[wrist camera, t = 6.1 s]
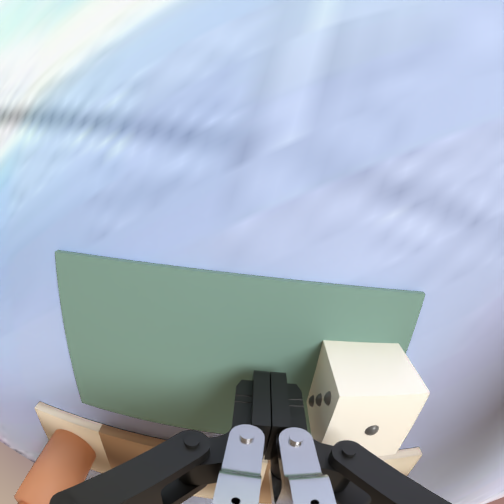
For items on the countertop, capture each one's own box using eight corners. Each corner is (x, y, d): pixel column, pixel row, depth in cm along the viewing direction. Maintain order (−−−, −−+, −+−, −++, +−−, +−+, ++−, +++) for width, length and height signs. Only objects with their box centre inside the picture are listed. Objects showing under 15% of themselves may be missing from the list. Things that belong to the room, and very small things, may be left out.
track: (39, 401, 17) (34, 407, 16) (418, 447, 17) (422, 454, 16) (60, 449, 19) (56, 455, 18) (388, 489, 19) (390, 496, 18)
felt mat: (58, 250, 14) (54, 251, 13) (422, 291, 14) (425, 294, 13) (83, 399, 17) (81, 402, 16) (366, 435, 16) (367, 438, 16)
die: (319, 339, 14) (335, 399, 10) (398, 343, 14) (431, 396, 10) (301, 404, 15) (309, 465, 11) (374, 404, 15) (394, 459, 11)
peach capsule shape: (48, 423, 17) (-7, 508, 8) (89, 438, 17) (39, 536, 8) (61, 451, 18) (17, 530, 9) (100, 465, 18) (61, 554, 9)
